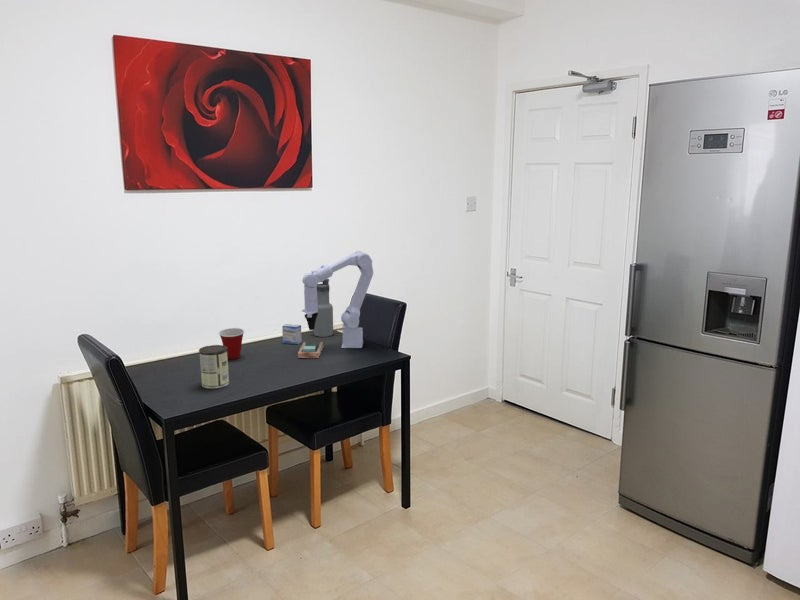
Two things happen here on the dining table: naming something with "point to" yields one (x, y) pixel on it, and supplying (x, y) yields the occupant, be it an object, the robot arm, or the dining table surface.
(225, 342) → the plastic cup
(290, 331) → the medicine box
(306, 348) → the block
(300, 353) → the wooden tray
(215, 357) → the coffee can
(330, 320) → the water bottle
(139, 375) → the dining table surface
